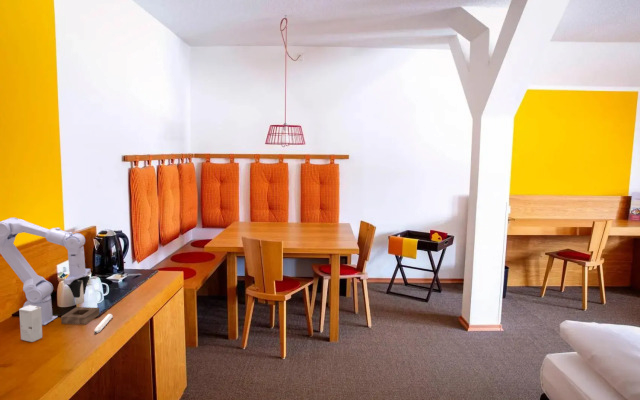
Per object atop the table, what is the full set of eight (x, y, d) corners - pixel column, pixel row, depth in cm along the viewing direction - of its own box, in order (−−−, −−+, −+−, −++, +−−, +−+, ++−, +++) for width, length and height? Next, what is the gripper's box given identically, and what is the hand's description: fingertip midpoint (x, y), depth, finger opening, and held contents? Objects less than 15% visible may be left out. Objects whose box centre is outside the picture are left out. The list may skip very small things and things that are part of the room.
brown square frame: (61, 323, 173) (61, 316, 172) (76, 313, 183) (76, 307, 182) (85, 324, 172) (85, 317, 172) (99, 314, 182) (99, 307, 182)
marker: (94, 338, 163) (109, 319, 179) (99, 335, 163) (113, 317, 179) (90, 332, 163) (105, 314, 178) (95, 329, 163) (110, 312, 178)
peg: (74, 303, 175) (72, 282, 174) (78, 300, 178) (77, 280, 177) (81, 303, 175) (79, 282, 174) (85, 301, 178) (84, 280, 177)
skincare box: (20, 340, 159) (17, 309, 157) (31, 334, 163) (28, 304, 161) (33, 342, 157) (29, 311, 155) (44, 337, 161) (41, 306, 160)
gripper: (75, 269, 167) (77, 302, 169) (96, 258, 181) (98, 289, 183) (57, 268, 167) (60, 302, 169) (80, 258, 181) (82, 289, 183)
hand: (79, 295), depth 176 cm, fingers closed on peg, 3 cm apart
